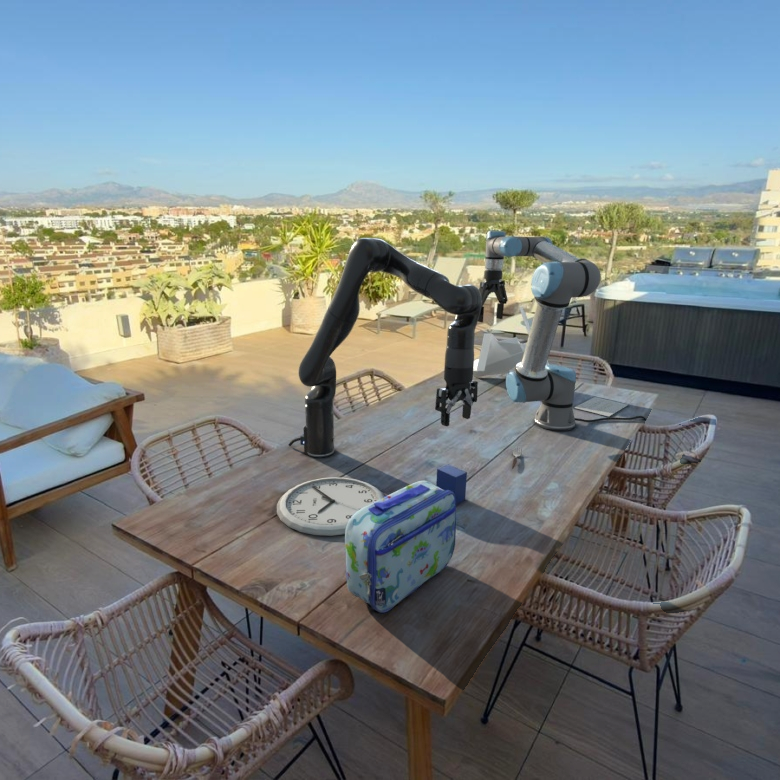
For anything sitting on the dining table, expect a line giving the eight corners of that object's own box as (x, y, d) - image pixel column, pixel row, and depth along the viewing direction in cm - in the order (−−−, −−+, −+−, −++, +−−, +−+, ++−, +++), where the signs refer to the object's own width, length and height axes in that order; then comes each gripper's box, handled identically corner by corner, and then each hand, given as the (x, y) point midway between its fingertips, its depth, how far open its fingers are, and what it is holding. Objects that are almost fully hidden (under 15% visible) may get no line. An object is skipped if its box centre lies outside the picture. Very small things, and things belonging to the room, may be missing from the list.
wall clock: (392, 527, 129) (268, 531, 127) (391, 533, 130) (269, 537, 127) (383, 473, 158) (282, 475, 155) (383, 478, 158) (282, 480, 156)
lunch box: (374, 626, 100) (375, 530, 93) (338, 598, 107) (337, 508, 101) (459, 568, 117) (465, 484, 111) (424, 547, 124) (427, 467, 118)
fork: (508, 469, 165) (508, 463, 165) (514, 450, 180) (515, 445, 179) (516, 471, 165) (516, 465, 164) (522, 451, 179) (522, 446, 178)
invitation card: (608, 416, 214) (573, 407, 224) (608, 416, 214) (573, 408, 224) (628, 404, 229) (594, 396, 238) (628, 405, 229) (594, 397, 238)
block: (446, 491, 152) (448, 464, 149) (465, 500, 147) (467, 472, 144) (435, 496, 149) (436, 468, 146) (454, 505, 144) (455, 477, 141)
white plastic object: (489, 418, 267) (470, 395, 242) (471, 346, 289) (451, 318, 264) (561, 394, 254) (547, 368, 230) (535, 321, 277) (521, 289, 252)
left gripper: (465, 356, 143) (462, 412, 148) (429, 364, 134) (427, 424, 139) (487, 361, 138) (483, 419, 143) (451, 370, 128) (448, 432, 133)
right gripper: (504, 267, 228) (500, 316, 235) (467, 270, 212) (464, 322, 218) (518, 269, 223) (514, 318, 229) (482, 271, 207) (478, 324, 213)
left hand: (455, 421), depth 141 cm, fingers open, 8 cm apart
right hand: (489, 320), depth 224 cm, fingers open, 13 cm apart
